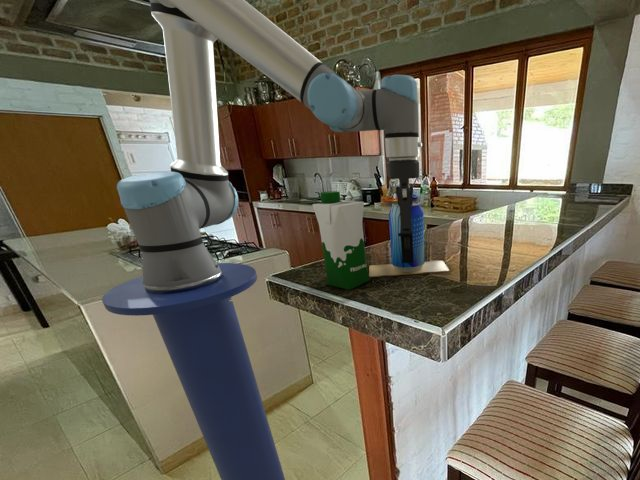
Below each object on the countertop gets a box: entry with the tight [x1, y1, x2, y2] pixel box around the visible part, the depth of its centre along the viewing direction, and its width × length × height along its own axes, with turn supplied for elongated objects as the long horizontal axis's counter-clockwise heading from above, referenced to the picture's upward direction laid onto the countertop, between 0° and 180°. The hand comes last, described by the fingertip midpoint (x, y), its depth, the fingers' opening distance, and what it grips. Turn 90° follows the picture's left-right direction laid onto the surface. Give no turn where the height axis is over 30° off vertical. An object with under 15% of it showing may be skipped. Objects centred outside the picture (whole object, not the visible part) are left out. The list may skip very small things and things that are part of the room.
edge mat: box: [368, 260, 450, 278], centre depth 87 cm, size 20×9×1 cm, turn 98°
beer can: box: [388, 201, 425, 272], centre depth 83 cm, size 8×8×16 cm
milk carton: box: [312, 190, 370, 290], centre depth 74 cm, size 9×9×20 cm
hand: (407, 257), depth 85 cm, fingers closed on beer can, 8 cm apart
